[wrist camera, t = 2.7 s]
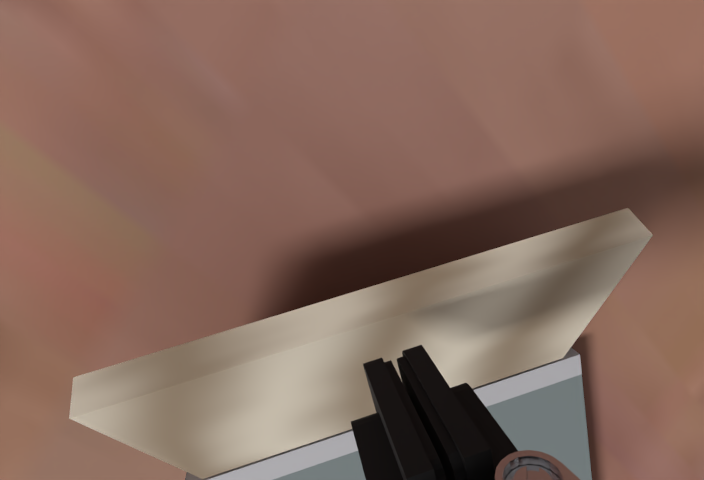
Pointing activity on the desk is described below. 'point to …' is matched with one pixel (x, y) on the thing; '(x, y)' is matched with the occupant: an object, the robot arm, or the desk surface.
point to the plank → (358, 349)
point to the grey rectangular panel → (501, 401)
